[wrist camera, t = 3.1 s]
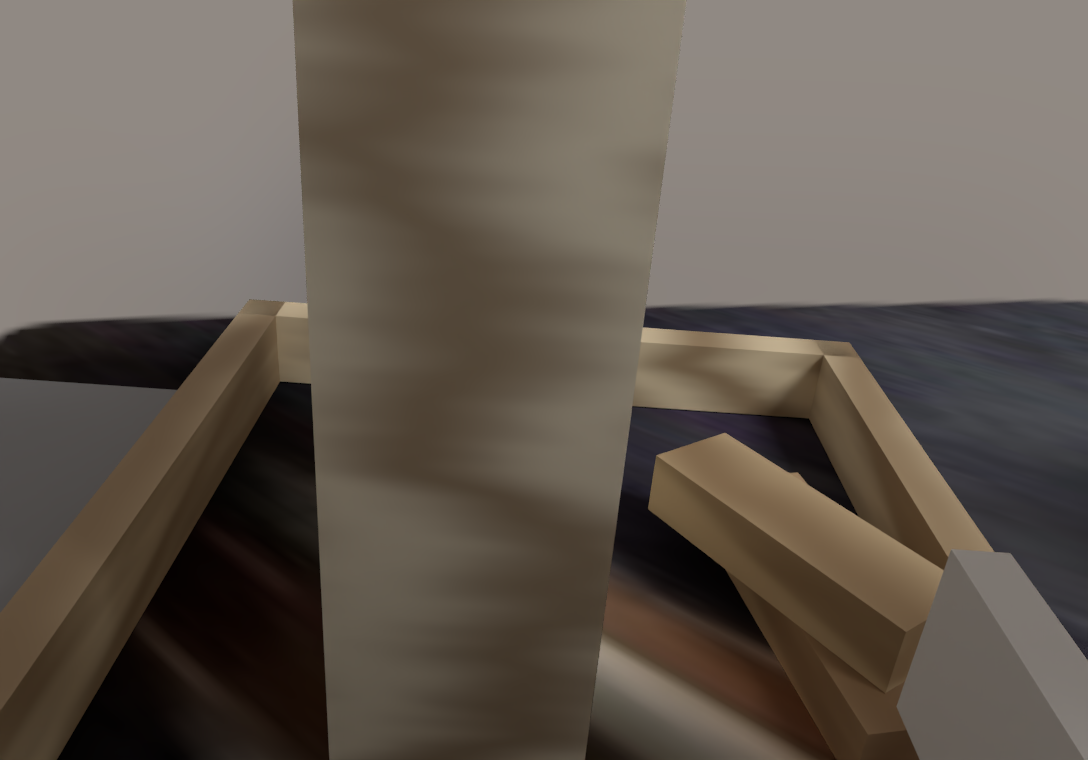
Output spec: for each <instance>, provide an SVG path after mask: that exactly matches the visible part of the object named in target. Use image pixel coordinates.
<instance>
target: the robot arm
mask: <svg viewBox="0 0 1088 760" xmlns="http://www.w3.org/2000/svg"><path fill="white" fill-rule="evenodd" d="M896 707H897V709H898V711H899V714H900V716H901V718H902V720H903V723H904V725H905V727H906V730H907V732H908V734H909V737H910V739H911V741H912V743H913V746H914V748H915V750H916V753H917V755H918V757H919V760H1088V660H1087V659H1086V657H1085V656H1084V655H1083V653H1082V652H1081V650H1080V649H1079V648H1078V646H1077V645H1076V644H1075V642H1074V641H1073V639H1072V638H1071V637H1070V635H1069V634H1068V632H1067V631H1066V630H1065V628H1064V627H1063V625H1062V624H1061V623H1060V621H1059V620H1058V619H1057V617H1056V616H1055V614H1054V613H1053V612H1052V610H1051V609H1050V607H1049V606H1048V605H1047V603H1046V602H1045V601H1044V599H1043V598H1042V596H1041V595H1040V594H1039V592H1038V591H1037V589H1036V588H1035V587H1034V585H1033V584H1032V582H1031V581H1030V580H1029V578H1028V577H1027V576H1026V574H1025V573H1024V571H1023V570H1022V569H1021V567H1020V566H1019V564H1018V563H1017V562H1016V560H1015V559H1014V558H1013V556H1012V555H1011V553H1000V552H986V551H971V550H957V549H951V551H950V554H949V557H948V560H947V563H946V566H945V569H944V571H943V574H942V577H941V580H940V583H939V586H938V589H937V591H936V594H935V597H934V600H933V603H932V606H931V609H930V612H929V614H928V617H927V620H926V623H925V626H924V629H923V632H922V635H921V637H920V640H919V643H918V646H917V649H916V652H915V655H914V658H913V660H912V663H911V666H910V669H909V672H908V675H907V678H906V680H905V683H904V686H903V689H902V692H901V695H900V698H899V701H898V703H897V706H896Z"/></svg>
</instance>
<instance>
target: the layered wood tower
mask: <svg viewBox="0 0 1088 760" xmlns="http://www.w3.org/2000/svg"><path fill="white" fill-rule="evenodd" d="M686 1H687V0H293V17H294V37H295V59H296V79H297V99H298V121H299V140H300V163H301V183H302V204H303V225H304V244H305V245H304V246H305V266H306V287H307V308H308V328H309V349H310V370H311V391H312V411H313V432H314V453H315V473H316V494H317V515H318V536H319V556H320V577H321V598H322V618H323V639H324V660H325V681H326V701H327V722H328V743H329V760H585V755H586V747H587V740H588V733H589V725H590V718H591V710H592V703H593V695H594V688H595V680H596V673H597V665H598V658H599V650H600V643H601V635H602V628H603V621H604V613H605V606H606V598H607V591H608V583H609V576H610V568H611V561H612V553H613V546H614V538H615V531H616V523H617V516H618V509H619V501H620V494H621V486H622V479H623V471H624V464H625V456H626V449H627V441H628V434H629V426H630V419H631V411H632V404H633V397H634V389H635V382H636V374H637V367H638V359H639V352H640V344H641V337H642V329H643V322H644V314H645V307H646V299H647V292H648V285H649V277H650V269H651V262H652V254H653V247H654V240H655V232H656V225H657V217H658V210H659V201H660V195H661V187H662V180H663V172H664V165H665V157H666V150H667V143H668V135H669V128H670V120H671V113H672V105H673V98H674V90H675V83H676V75H677V68H678V60H679V53H680V46H681V38H682V30H683V23H684V15H685V7H686Z"/></svg>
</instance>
